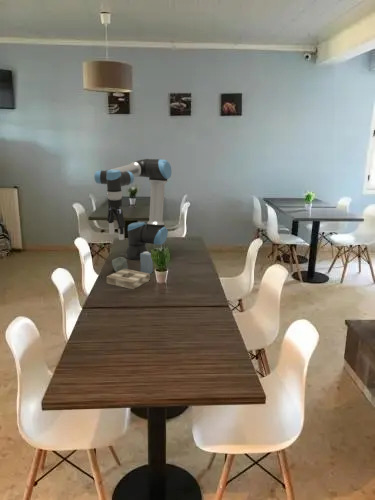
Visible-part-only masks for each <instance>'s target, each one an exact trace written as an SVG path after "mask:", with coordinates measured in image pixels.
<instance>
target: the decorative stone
mask: <svg viewBox="0 0 375 500" xmlns="http://www.w3.org/2000/svg"><path fill="white" fill-rule="evenodd" d="M111 264H112V268H113V270H114V271H115V273H116V272H118V271H120V270H122V269H129V266H128V260H127V258H126V257H121V256H119V257H116V258H113V259H112V260H111Z"/></svg>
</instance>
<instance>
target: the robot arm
mask: <svg viewBox="0 0 375 500" xmlns="http://www.w3.org/2000/svg"><path fill="white" fill-rule="evenodd" d="M171 166H172V165H171V164H170V162H169V161H168V160H166V159H162V158H161V159H160V158H159V159H157V158H155V159H154V158H153V159H152V158H144V159H139V160H135V161H131V162H130V163H129V164H126V165H121V166H118V167H115V168H111V169H110V168H109V169H106V170H102V169H101V170H97V171H95V173H94V182H95V183H96V184H99V185H100V184H101V185H106V189H107V190H106V191H107V193H106V196H107V206H108V208H107V209H108V211H107V217H106V221H107V222H108V232H109V235H115V219H116V221H117V226H118V231H117V232H118V240H119V241H123V240H125V230H124V228H126V222H125V219H124V214H123V209H120V208H121V207H122V206H123V199H122V196H123V195H122V194H123V193H122V192H123V191H122V187H126V186H129V185H131V184H133V183H134V182H135V178H138V177H141V178H142V177H143V178H149V179H148V181H149V182H150V183H151V184H150V187H151V188H150V197H149V198H150V199H149V200H150V201H149V202H150V203H149V215H148V216H149V217H148V219H149V220H148V221H147V222H145V221H137V222H132V223H130V224H128V225H127V236H128V237H127V239H128V241H127V242H128V243H127V244H128V247H127V250H126V253H125V258H126V259H129V260H133V261H134V260H136V261H139V260H140V254H141V253H143V252H146V251H147V252H149V251H148V247H147V245H146V244H151V245H164V243H165V242H166V240H167V238H168V234H169V232H168V228H167V227H166V226H165V222H164V221H163V220H164V219H163V216H164V201H165V200H164V198H165V187H166V186H165V185H166V184H167V182H168V180H169V179H170V178H171V176H172V167H171Z"/></svg>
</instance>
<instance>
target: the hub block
mask: <svg viewBox="0 0 375 500" xmlns="http://www.w3.org/2000/svg"><path fill="white" fill-rule="evenodd" d="M149 280H150V281H151V274H148V273H143V272H141V271H137V270H133V269H129V268H128V269H122V270H120V271H118V272H116V271H115V272H113V273H111V274H109V275H107V276H106V284H108V285H113V286H116V287H121V288H126V289H129V290H135V289H136V288H138V287H141V286H142V285H144V284H146V283H148V282H149Z"/></svg>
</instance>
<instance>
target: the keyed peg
mask: <svg viewBox="0 0 375 500" xmlns="http://www.w3.org/2000/svg"><path fill="white" fill-rule="evenodd" d="M151 253H152V252H150V251H148V252H147V251H146V252H143V253H141V254H140V272H143V273H148V274H150V275H152V274H153V273H154V269H153V268H154V267H153V266H154V264H153V263H154V262H153V261H154V260H153V261H152V258H151ZM152 272H153V273H152Z"/></svg>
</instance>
